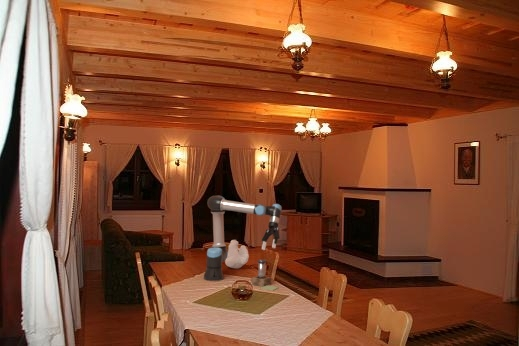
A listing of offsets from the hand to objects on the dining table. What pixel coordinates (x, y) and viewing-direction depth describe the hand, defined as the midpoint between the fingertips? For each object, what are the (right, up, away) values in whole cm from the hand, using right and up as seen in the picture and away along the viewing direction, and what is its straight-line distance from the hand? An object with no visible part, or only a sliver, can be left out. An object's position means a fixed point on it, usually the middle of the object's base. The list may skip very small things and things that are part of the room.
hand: (268, 248), depth 312 cm
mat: (+1, -25, -19) cm, 31 cm away
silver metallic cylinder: (-5, -25, -7) cm, 27 cm away
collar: (-5, -25, -7) cm, 27 cm away
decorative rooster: (-27, -28, +52) cm, 65 cm away
